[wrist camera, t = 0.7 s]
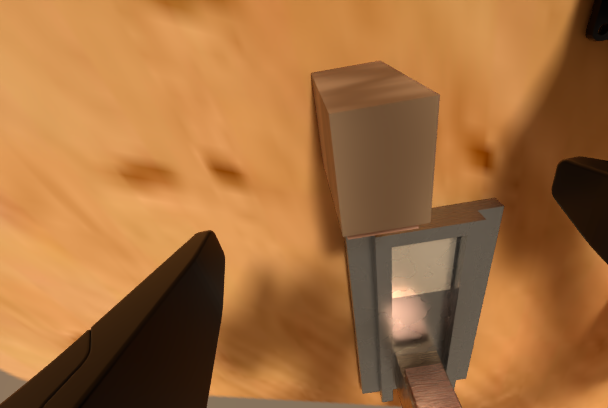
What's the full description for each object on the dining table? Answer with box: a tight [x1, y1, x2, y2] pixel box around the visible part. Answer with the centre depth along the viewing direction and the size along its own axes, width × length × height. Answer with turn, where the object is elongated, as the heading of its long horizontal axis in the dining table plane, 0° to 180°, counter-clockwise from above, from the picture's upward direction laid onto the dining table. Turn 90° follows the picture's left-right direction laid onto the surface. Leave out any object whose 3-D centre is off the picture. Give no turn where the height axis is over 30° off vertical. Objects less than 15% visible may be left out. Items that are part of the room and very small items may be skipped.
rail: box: [344, 198, 504, 408], centre depth 23 cm, size 10×20×8 cm, turn 9°
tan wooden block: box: [311, 61, 440, 240], centre depth 14 cm, size 4×6×7 cm, turn 9°
